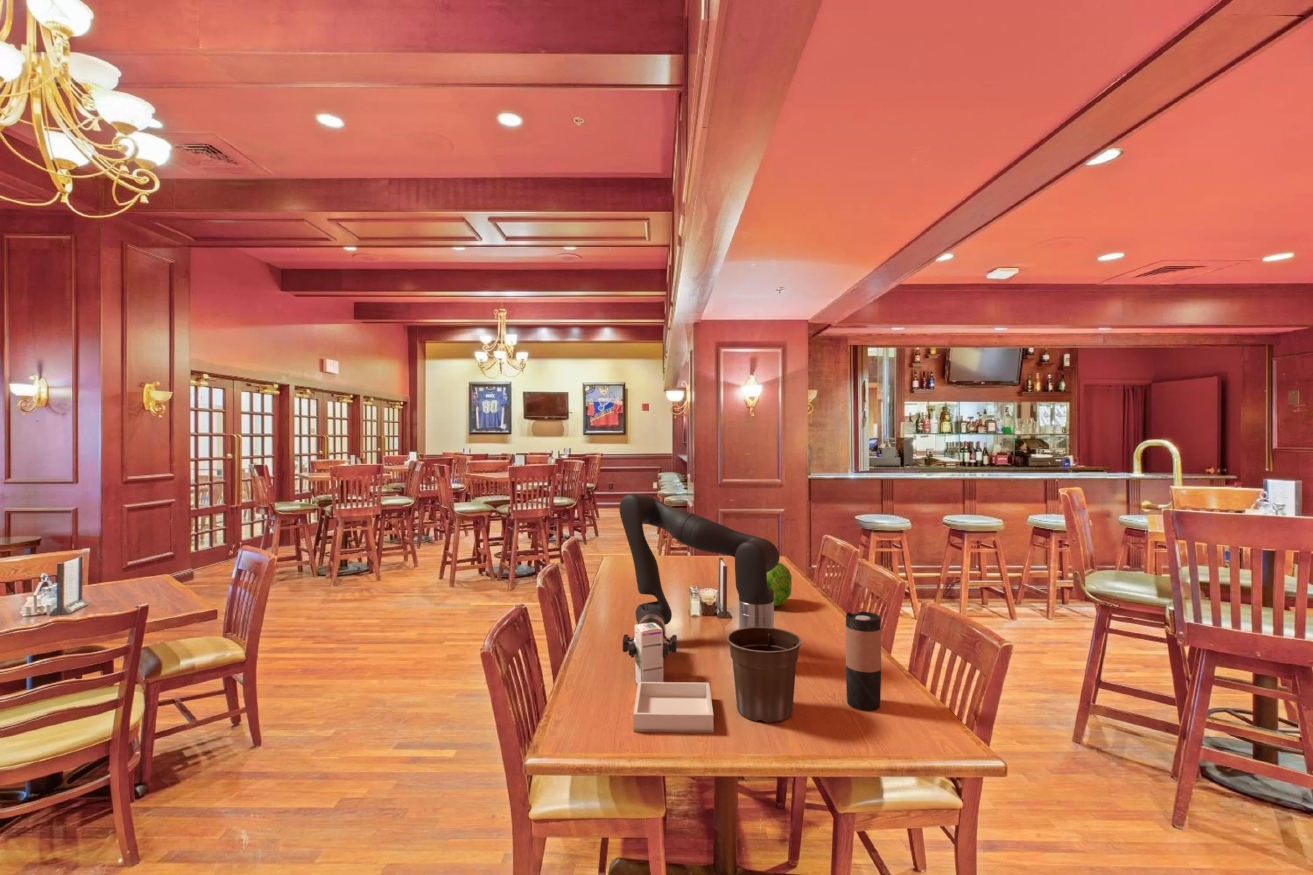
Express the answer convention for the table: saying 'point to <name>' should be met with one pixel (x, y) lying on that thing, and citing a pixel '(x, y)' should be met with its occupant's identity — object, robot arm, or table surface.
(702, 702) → the tray
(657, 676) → the syrup box
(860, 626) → the travel mug
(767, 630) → the plant pot
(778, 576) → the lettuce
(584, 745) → the table surface
